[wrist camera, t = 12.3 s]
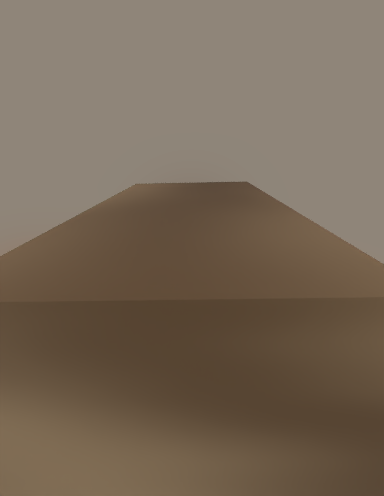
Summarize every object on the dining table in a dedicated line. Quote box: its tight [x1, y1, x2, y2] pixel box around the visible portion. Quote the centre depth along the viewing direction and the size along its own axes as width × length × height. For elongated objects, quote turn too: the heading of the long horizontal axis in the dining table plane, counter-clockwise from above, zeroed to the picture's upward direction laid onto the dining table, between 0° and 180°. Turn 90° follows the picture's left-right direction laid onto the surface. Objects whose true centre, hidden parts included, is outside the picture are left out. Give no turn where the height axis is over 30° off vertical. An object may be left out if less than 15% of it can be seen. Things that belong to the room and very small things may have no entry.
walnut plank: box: [0, 182, 384, 496], centre depth 9 cm, size 4×10×14 cm, turn 179°
